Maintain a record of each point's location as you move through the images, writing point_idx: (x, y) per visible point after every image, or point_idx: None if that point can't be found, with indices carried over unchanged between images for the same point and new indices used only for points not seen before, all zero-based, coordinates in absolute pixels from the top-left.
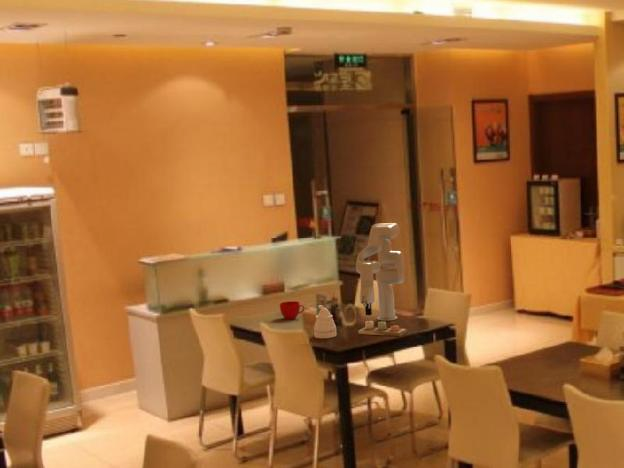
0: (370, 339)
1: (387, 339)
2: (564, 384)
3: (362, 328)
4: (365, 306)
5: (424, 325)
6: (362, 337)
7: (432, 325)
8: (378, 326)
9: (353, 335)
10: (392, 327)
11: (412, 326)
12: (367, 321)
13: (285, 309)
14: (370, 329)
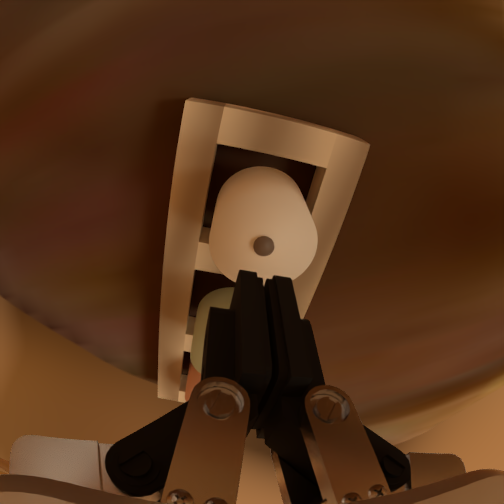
0: (34, 254)
1: (71, 339)
2: (5, 470)
3: (288, 122)
4: (138, 442)
5: (399, 411)
6: (64, 181)
7: (387, 427)
8: (203, 314)
9: (121, 72)
10: (185, 391)
11: (398, 385)
12: (283, 217)
13: None
14: (313, 193)
